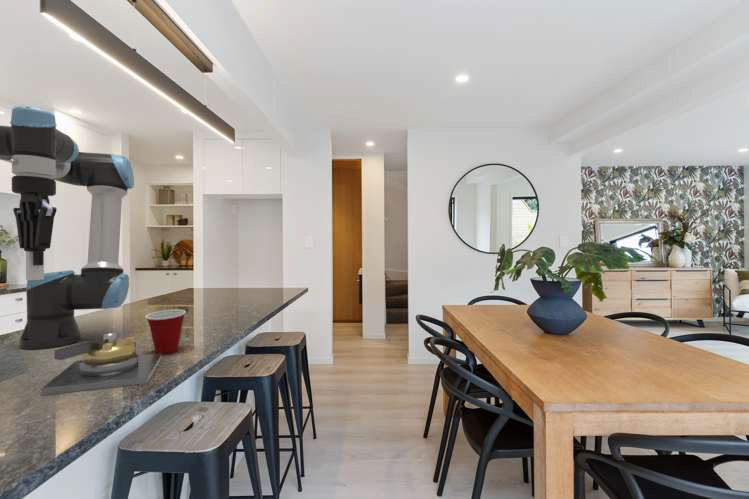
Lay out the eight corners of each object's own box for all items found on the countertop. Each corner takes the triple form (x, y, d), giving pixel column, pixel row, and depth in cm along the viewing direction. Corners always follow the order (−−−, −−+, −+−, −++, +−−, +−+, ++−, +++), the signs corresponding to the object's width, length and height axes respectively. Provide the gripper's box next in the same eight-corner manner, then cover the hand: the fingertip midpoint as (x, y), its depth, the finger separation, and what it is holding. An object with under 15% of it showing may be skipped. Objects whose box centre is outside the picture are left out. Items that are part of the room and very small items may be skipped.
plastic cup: (136, 354, 110) (136, 314, 109) (167, 345, 120) (167, 308, 120) (163, 359, 106) (163, 317, 106) (193, 349, 116) (194, 310, 116)
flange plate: (76, 366, 99) (76, 351, 99) (162, 358, 106) (162, 344, 106) (41, 395, 80) (41, 376, 80) (147, 383, 88) (147, 366, 88)
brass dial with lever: (113, 349, 100) (113, 327, 100) (146, 353, 97) (146, 330, 97) (39, 370, 83) (39, 344, 83) (76, 375, 80) (76, 348, 80)
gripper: (-2, 176, 85) (-1, 279, 85) (29, 172, 79) (30, 282, 80) (38, 181, 92) (39, 277, 92) (69, 178, 86) (70, 279, 87)
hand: (35, 279), depth 86 cm, fingers closed
